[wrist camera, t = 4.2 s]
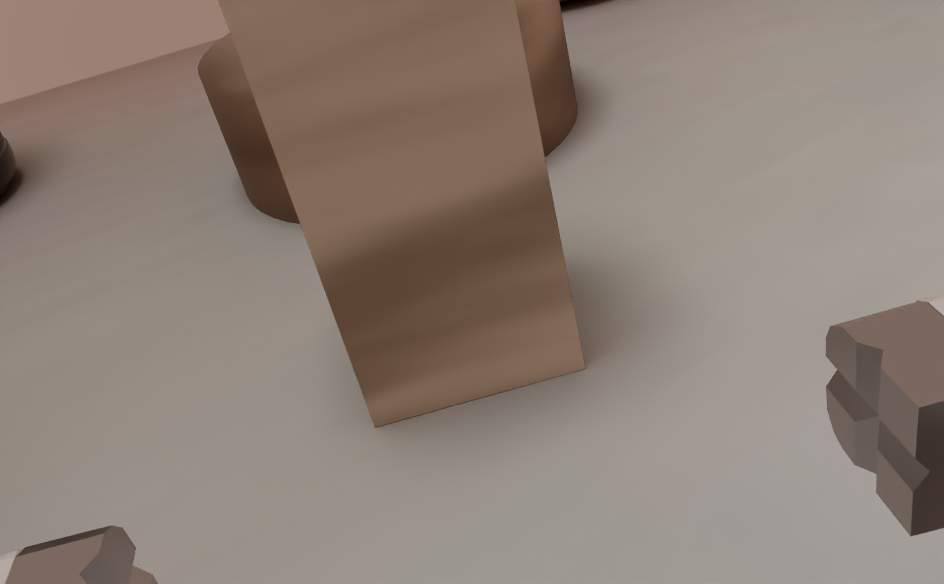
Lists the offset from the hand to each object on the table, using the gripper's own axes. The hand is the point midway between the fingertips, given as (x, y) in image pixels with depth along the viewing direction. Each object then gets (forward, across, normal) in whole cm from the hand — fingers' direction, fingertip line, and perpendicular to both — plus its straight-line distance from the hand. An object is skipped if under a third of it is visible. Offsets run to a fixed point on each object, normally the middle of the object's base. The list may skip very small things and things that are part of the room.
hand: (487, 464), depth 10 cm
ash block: (+11, 0, +6) cm, 13 cm away
